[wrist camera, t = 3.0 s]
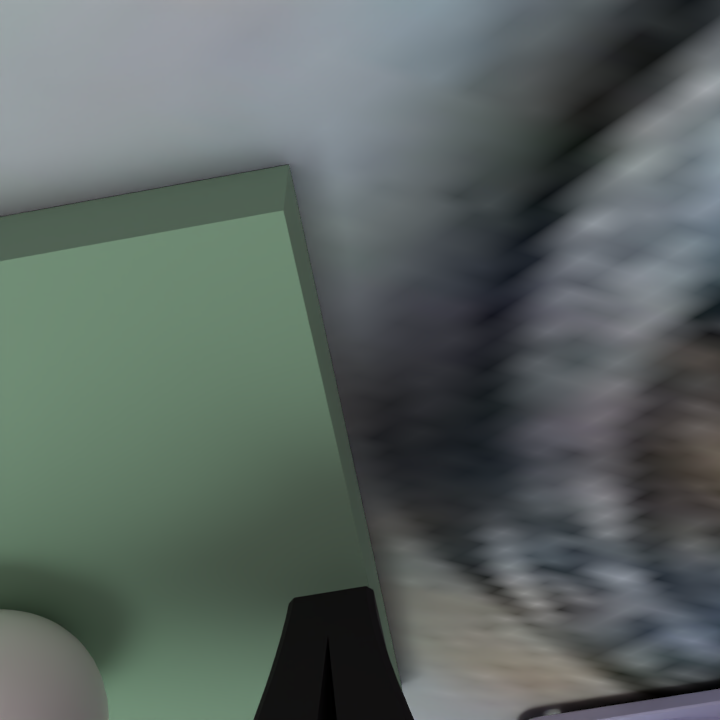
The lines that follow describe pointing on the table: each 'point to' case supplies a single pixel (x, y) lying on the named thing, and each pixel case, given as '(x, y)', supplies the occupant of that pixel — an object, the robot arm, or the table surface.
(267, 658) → the putting mat
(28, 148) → the table surface
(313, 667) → the robot arm
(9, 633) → the ball
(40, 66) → the table surface
